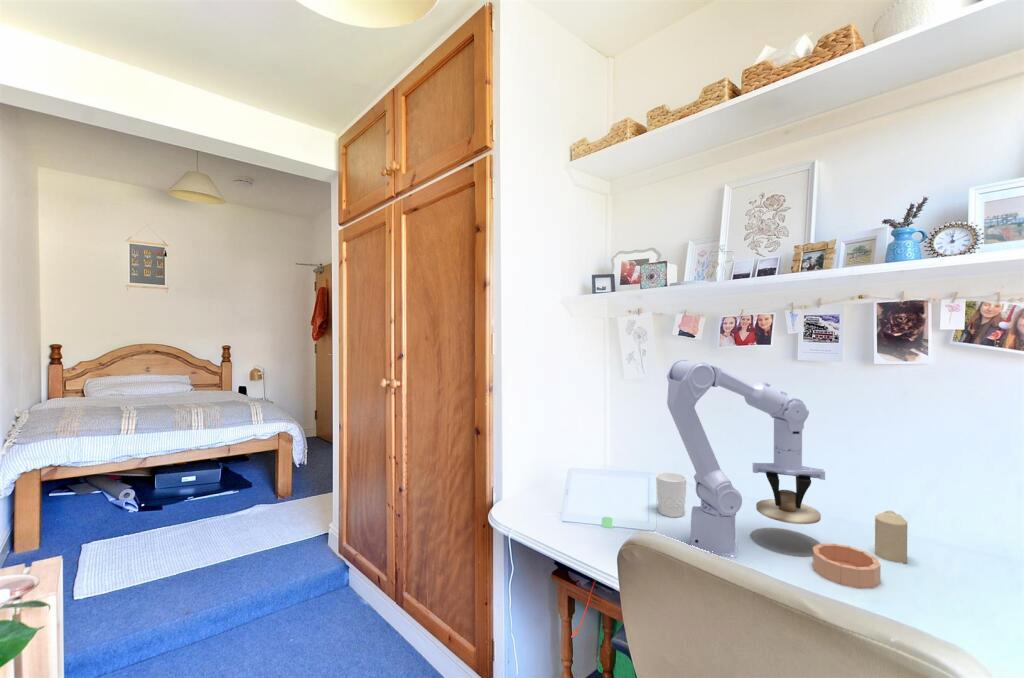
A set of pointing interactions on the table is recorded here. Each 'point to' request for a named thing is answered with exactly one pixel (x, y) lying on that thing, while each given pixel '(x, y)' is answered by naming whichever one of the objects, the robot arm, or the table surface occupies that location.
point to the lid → (788, 509)
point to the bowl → (846, 565)
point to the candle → (891, 537)
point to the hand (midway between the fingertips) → (787, 505)
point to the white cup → (671, 494)
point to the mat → (784, 541)
